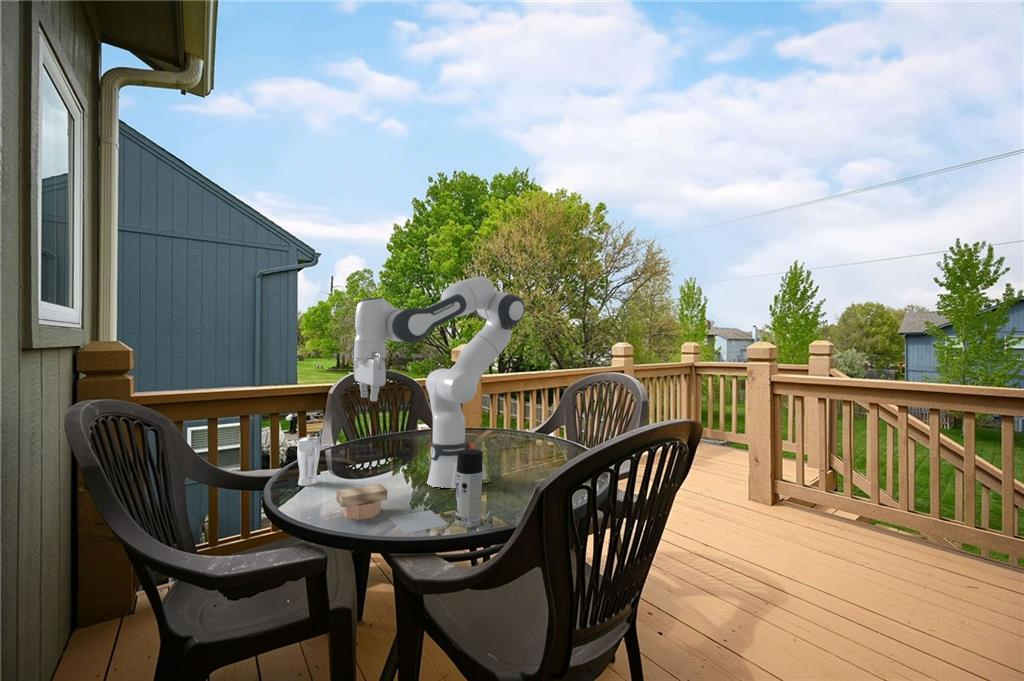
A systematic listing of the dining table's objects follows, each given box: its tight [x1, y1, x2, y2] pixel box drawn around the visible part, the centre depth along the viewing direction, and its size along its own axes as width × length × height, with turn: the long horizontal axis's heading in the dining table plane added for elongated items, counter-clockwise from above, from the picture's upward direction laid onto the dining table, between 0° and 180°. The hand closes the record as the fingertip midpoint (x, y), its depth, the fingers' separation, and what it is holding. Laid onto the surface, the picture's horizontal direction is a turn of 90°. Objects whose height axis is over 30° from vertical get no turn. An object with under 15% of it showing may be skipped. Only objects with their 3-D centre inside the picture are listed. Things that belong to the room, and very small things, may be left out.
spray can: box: [454, 448, 484, 528], centre depth 123 cm, size 7×7×20 cm
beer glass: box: [296, 436, 321, 487], centre depth 158 cm, size 7×7×15 cm
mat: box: [388, 509, 450, 535], centre depth 123 cm, size 12×12×2 cm
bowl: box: [342, 501, 382, 521], centre depth 128 cm, size 9×9×5 cm
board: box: [335, 484, 388, 508], centre depth 128 cm, size 12×6×3 cm, turn 123°
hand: (368, 399), depth 139 cm, fingers open, 8 cm apart
